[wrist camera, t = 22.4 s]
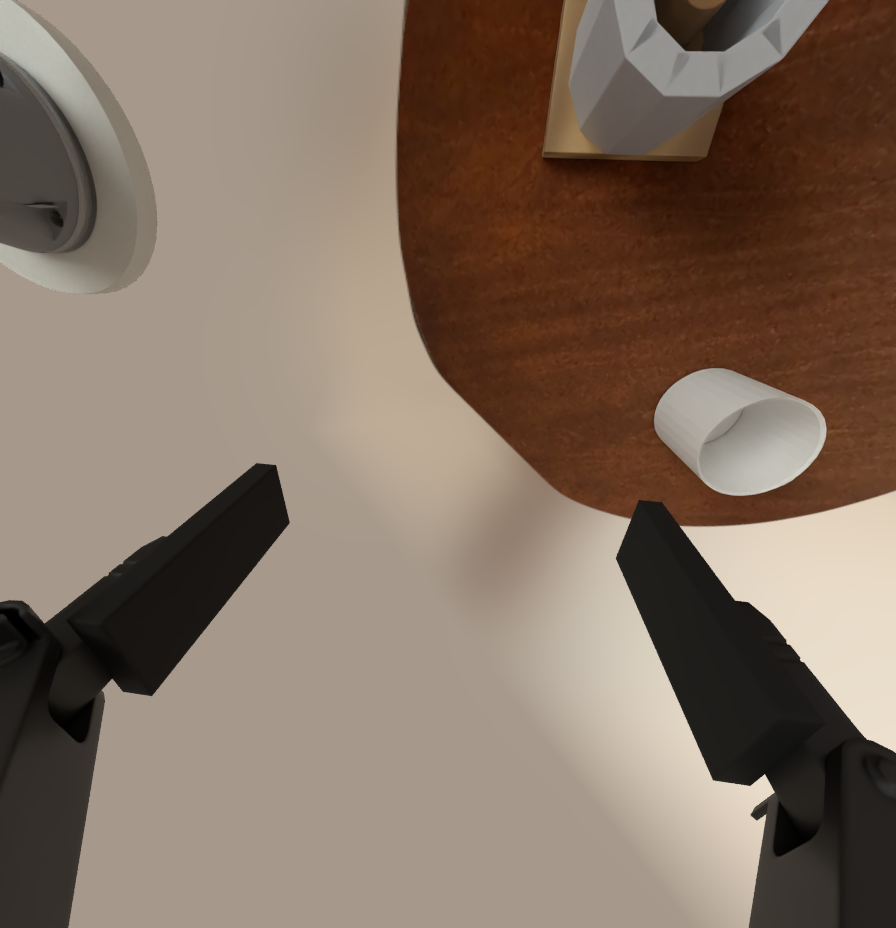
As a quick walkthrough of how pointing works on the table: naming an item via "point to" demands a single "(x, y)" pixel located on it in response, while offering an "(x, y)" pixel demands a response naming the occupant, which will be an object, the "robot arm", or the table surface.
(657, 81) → the silver tape
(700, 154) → the stand
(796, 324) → the table surface
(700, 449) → the mug
